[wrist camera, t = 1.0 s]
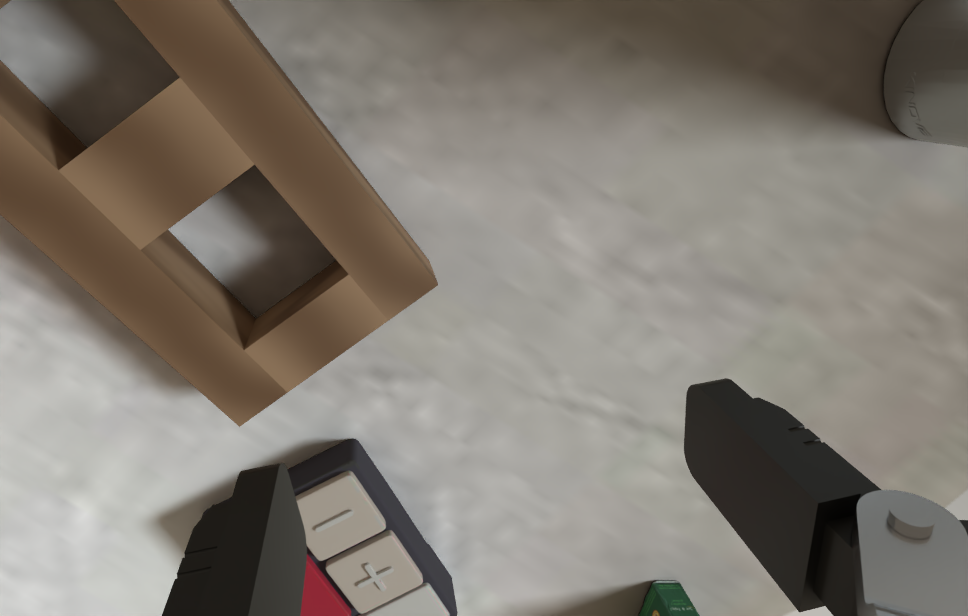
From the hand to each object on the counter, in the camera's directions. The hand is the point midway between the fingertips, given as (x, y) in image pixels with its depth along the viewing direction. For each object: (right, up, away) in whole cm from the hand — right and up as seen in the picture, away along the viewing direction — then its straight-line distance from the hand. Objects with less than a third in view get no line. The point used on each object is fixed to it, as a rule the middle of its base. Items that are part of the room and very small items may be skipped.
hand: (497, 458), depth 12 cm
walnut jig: (-15, +11, +18) cm, 26 cm away
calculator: (-11, -13, +30) cm, 34 cm away
